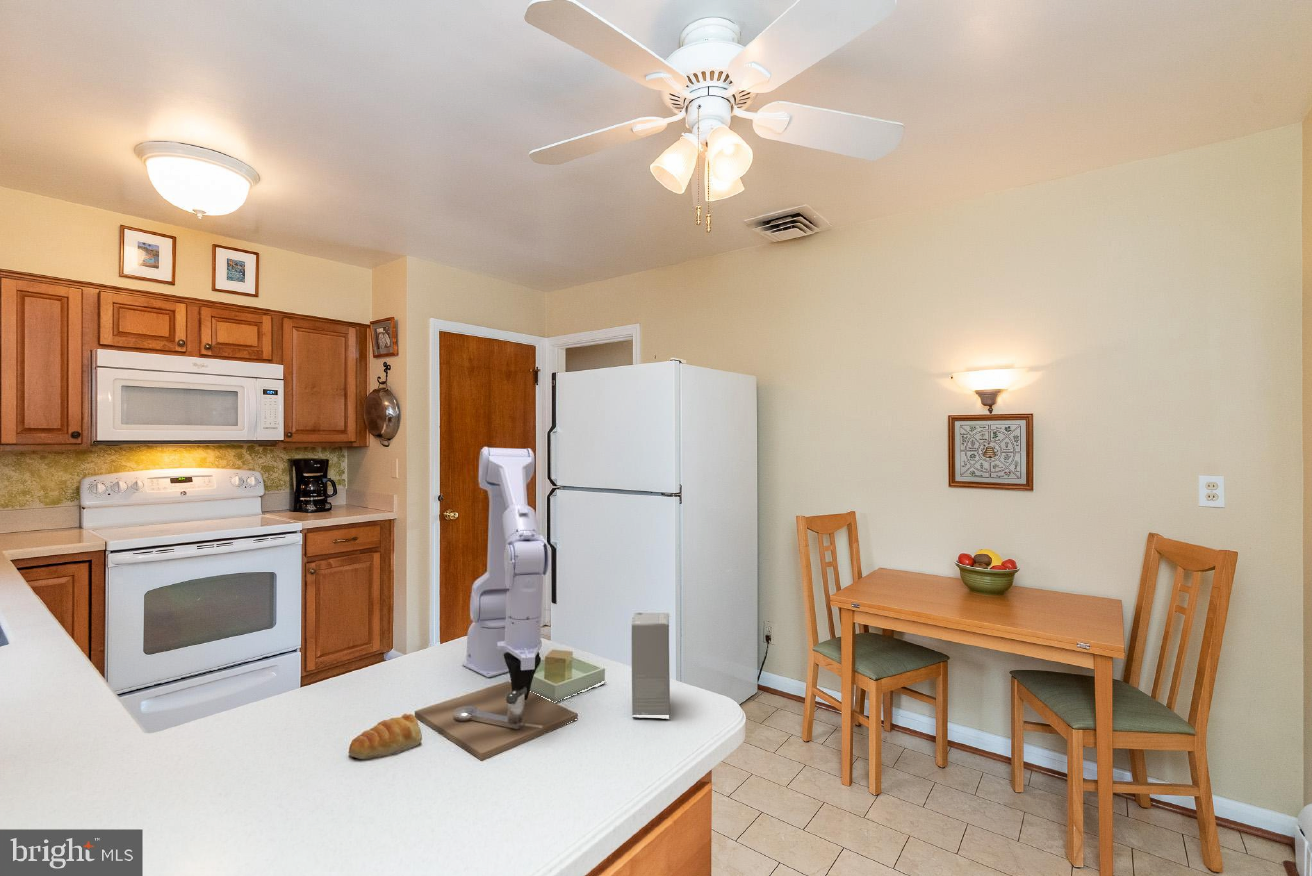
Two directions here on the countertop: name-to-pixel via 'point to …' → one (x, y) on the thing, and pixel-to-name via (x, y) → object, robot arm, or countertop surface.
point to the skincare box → (650, 664)
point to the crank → (512, 721)
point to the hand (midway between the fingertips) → (520, 699)
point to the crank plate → (490, 737)
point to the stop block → (558, 666)
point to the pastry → (387, 738)
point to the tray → (581, 680)
